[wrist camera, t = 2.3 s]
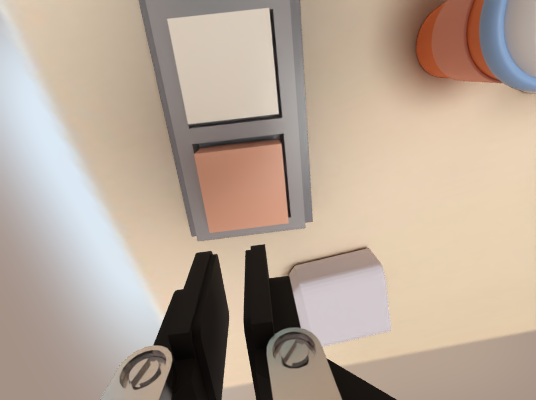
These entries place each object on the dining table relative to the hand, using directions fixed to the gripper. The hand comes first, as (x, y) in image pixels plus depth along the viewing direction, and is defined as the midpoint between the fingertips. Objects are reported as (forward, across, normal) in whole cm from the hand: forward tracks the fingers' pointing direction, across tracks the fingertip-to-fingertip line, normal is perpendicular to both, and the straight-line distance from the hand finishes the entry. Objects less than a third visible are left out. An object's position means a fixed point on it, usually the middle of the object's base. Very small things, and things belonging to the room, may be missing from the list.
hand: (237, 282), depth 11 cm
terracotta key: (+15, 0, 0) cm, 15 cm away
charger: (+20, -6, +16) cm, 26 cm away
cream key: (+15, 0, -9) cm, 17 cm away
